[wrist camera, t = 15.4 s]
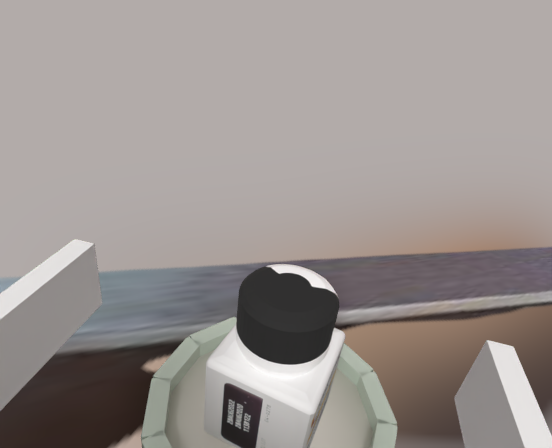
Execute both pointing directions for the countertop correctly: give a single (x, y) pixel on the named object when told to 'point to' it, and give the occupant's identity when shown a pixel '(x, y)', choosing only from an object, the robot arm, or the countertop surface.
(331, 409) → the round tray
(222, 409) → the container
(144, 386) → the countertop surface
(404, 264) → the countertop surface
